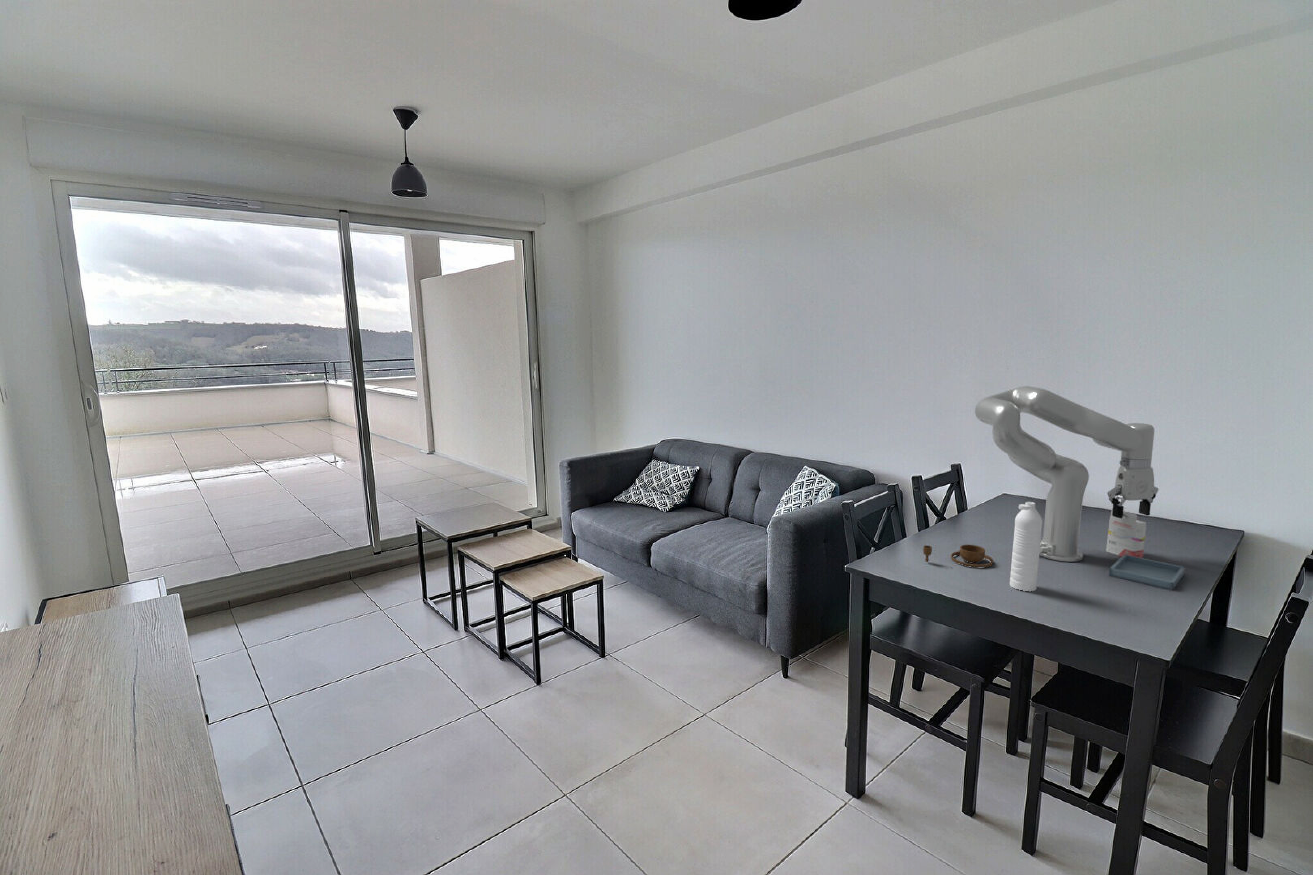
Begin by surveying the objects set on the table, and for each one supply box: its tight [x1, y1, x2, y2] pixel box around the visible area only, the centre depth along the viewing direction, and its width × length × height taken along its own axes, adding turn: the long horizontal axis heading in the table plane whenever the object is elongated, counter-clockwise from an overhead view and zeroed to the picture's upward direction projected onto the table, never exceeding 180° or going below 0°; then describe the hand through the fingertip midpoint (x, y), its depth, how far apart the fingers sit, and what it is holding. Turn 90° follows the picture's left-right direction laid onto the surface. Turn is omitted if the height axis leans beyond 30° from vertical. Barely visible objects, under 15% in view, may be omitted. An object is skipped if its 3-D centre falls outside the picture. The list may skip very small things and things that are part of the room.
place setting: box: [922, 544, 994, 568], centre depth 194 cm, size 18×20×6 cm
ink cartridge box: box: [1105, 508, 1147, 558], centre depth 194 cm, size 9×5×15 cm, turn 17°
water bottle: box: [1009, 501, 1043, 592], centre depth 170 cm, size 9×6×25 cm
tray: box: [1108, 554, 1186, 591], centre depth 179 cm, size 17×15×2 cm
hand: (1130, 515), depth 193 cm, fingers open, 9 cm apart
